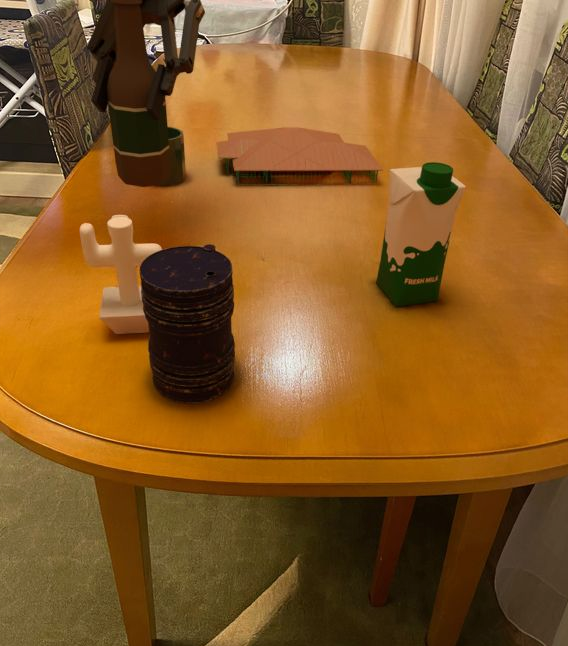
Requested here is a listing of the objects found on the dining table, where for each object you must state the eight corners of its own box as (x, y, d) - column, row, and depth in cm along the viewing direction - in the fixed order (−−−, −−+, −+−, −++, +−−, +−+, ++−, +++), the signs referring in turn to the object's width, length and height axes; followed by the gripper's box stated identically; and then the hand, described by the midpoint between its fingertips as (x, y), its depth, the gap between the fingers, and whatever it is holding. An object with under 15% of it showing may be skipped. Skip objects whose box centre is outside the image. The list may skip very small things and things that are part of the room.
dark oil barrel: (134, 389, 70) (114, 250, 59) (179, 343, 78) (168, 213, 67) (210, 414, 68) (203, 273, 57) (249, 364, 75) (249, 232, 64)
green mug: (193, 181, 121) (191, 136, 115) (153, 189, 117) (148, 142, 111) (168, 163, 128) (164, 119, 123) (129, 170, 124) (123, 125, 118)
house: (215, 147, 138) (213, 110, 133) (355, 148, 143) (359, 112, 138) (220, 186, 120) (219, 145, 115) (381, 185, 125) (386, 145, 120)
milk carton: (392, 311, 87) (415, 176, 75) (367, 280, 94) (385, 151, 82) (446, 304, 89) (476, 172, 77) (418, 273, 96) (442, 148, 84)
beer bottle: (146, 164, 94) (128, -14, 80) (182, 177, 91) (170, -6, 77) (106, 177, 89) (79, -11, 75) (142, 192, 86) (122, -2, 71)
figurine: (170, 337, 79) (160, 231, 70) (94, 341, 77) (74, 234, 68) (169, 307, 84) (160, 206, 75) (99, 310, 83) (81, 207, 74)
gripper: (242, -13, 86) (203, 135, 83) (113, -27, 89) (71, 115, 86) (229, -56, 79) (186, 105, 76) (89, -69, 82) (42, 84, 79)
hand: (125, 110), depth 81 cm, fingers closed on beer bottle, 7 cm apart
